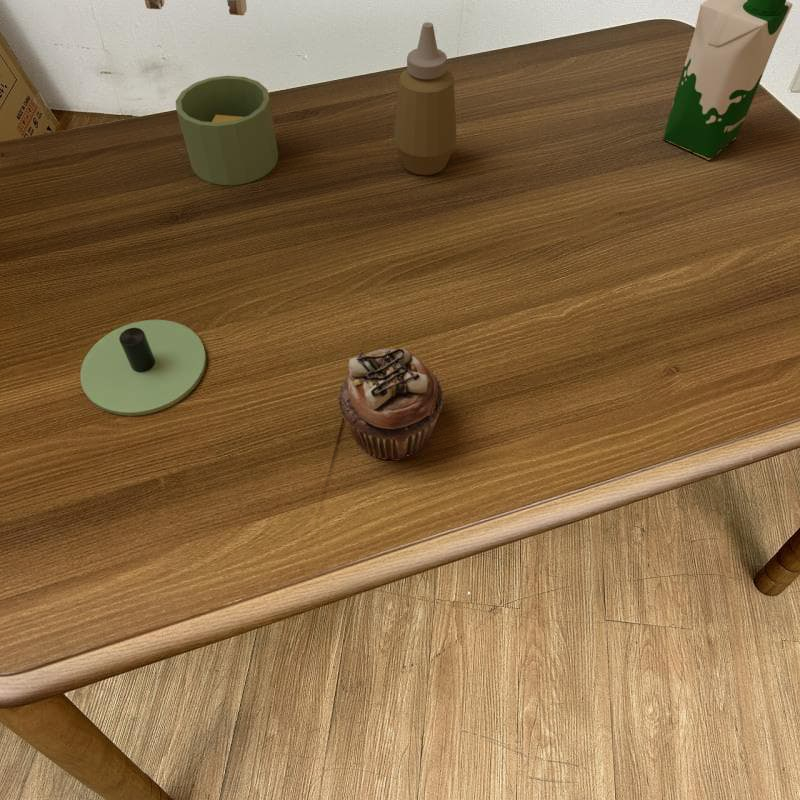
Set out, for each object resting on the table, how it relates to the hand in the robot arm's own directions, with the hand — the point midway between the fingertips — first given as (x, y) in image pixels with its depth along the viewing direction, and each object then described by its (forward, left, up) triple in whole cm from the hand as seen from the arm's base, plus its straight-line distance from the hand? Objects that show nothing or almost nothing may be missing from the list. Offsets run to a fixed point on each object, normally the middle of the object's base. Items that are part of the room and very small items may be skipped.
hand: (197, 10), depth 82 cm
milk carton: (+61, +16, -20) cm, 66 cm away
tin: (0, +2, -20) cm, 20 cm away
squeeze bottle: (+25, +5, -20) cm, 32 cm away
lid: (+2, -35, -20) cm, 40 cm away
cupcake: (+28, -38, -20) cm, 51 cm away
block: (0, +2, -20) cm, 20 cm away
